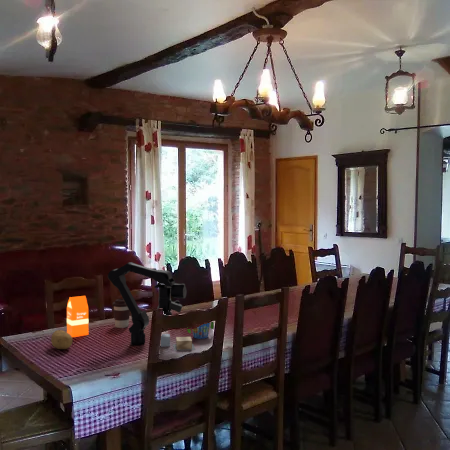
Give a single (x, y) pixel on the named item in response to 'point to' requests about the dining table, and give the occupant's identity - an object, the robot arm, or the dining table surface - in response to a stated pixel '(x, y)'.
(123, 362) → the dining table surface
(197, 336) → the snack cup
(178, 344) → the oak block
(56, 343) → the potato
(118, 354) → the dining table surface
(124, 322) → the coffee cup
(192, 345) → the build mat
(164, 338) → the blue cube
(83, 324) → the orange juice
